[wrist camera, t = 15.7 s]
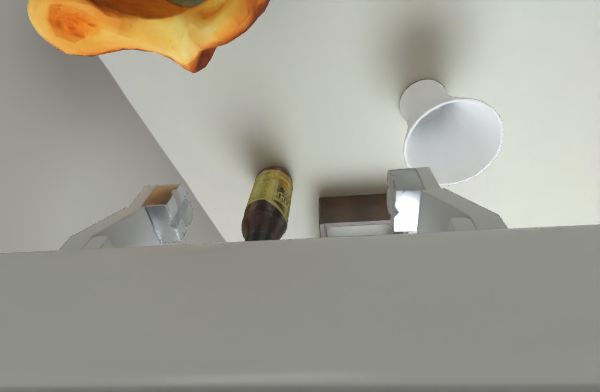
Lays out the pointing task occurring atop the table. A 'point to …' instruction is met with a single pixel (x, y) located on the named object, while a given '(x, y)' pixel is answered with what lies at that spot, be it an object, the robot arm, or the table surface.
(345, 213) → the caddy
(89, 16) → the decorative vase
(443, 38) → the table surface
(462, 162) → the cup
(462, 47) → the table surface
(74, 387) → the robot arm
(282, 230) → the sauce bottle
